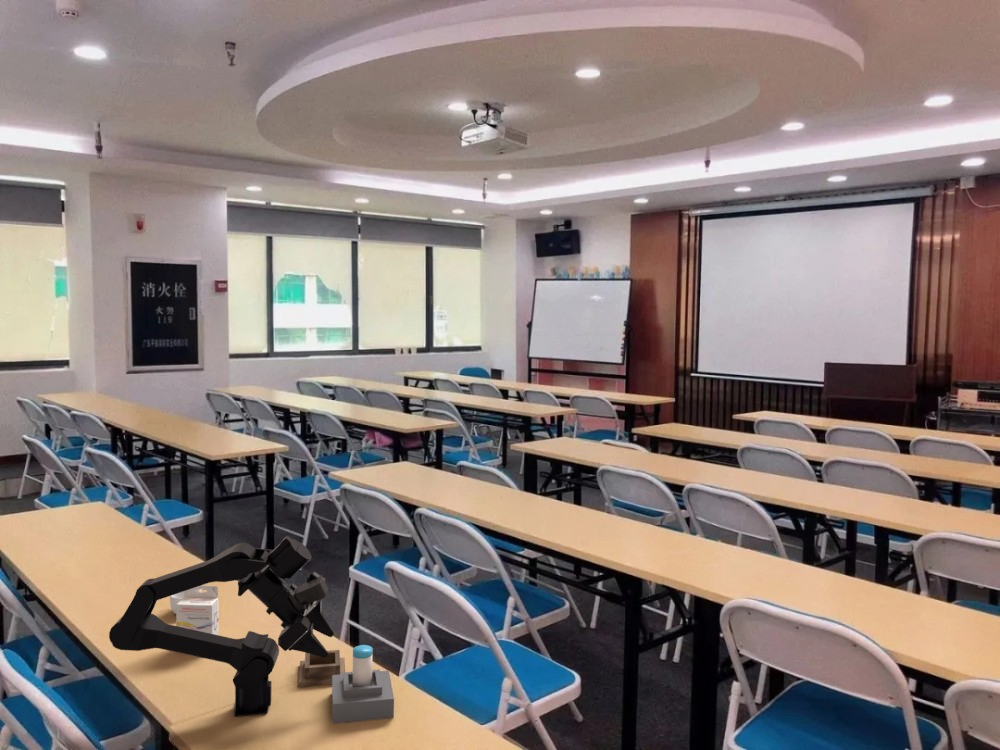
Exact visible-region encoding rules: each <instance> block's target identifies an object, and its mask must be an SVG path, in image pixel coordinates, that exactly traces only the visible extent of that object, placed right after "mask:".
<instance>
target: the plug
mask: <svg viewBox="0 0 1000 750" xmlns="http://www.w3.org/2000/svg"><path fill="white" fill-rule="evenodd" d="M373 649H374V648H373V647H372V646H370V645H367V644H361V645H360V644H359V645H357V646H355V647H354V648H353V649H352V672H353V682H352V687H362V686H372V670H373V653H374V652H373Z"/></svg>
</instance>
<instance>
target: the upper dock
mask: <svg viewBox="0 0 1000 750" xmlns="http://www.w3.org/2000/svg"><path fill="white" fill-rule="evenodd" d="M352 682H353V671H345V672H343V674H340V675H332V684H331V686H332V687H331V706H332V707H331V708H332V724H334V725H335V724H342V723H352V722H354V723H355V722H364V721H373V720H375V721H376V720H384V719H393V718H394V717H395V714H394V713H395V697H394V691H393V687H392V680H391V673H390V670H380V669H372V686H362V687H352Z"/></svg>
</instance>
